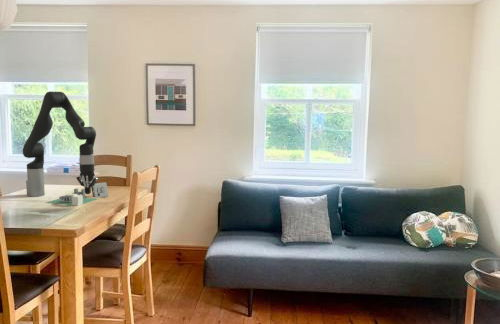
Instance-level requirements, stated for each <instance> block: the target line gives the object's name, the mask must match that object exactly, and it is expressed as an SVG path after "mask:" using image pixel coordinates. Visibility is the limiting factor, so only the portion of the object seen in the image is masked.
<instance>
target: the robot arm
mask: <svg viewBox="0 0 500 324" xmlns="http://www.w3.org/2000/svg"><path fill="white" fill-rule="evenodd" d="M56 108H57V109H60V108H62V109H63V110H65V120H66V122H67V123H68V124H69V126H70V127H71V128H72V130H73V133H74V136H75V138H77V139H79V140H81V141H85V142H84V143H82V144H80V145H79V147H78V148H79V159H78V161H79V175H78V176H77V177H76V180H77V182H78V183H79V184H80V186H81V187H84V189H85V195H90V194H91V193H92V188H91V187H92V186H94V185H95V184H96V183H98V180H99V177H96V176H95V175H96V174H95V157H94V145H95V141H96V137H97V132H96V129H95V128H94V126H85V124H86V123H85V121H84V119H83V118H82V117H81V116H80V115H79V114H78V113H77V111H76V110H75V108H74V106H73V104H72V103H71V101H70V100H69V98H68V96H67V95H66V94H65V93H64V92H63V91H47V92H46V93H45V94H44V96H43V99H42V103H41V105H40V110H39V112H38V114H37V117H36V120H35V121H34V124H33V127H32V129H31V131H30V133H29V136H28V137H27V139H26V141H25V142H24V144H23V147H22V155H23V157H25V158H27V159H33V160H32V161H31V162H28V163H27V164H26V179H27V180H26V181H25V182H26V183H25V185H26V186H25V187H26V196H28V197H43V196H45V176H44V175H45V172H44V165H45V148H44V147H45V146H44V145H43V144H42V142H40V141H41V140H43V139H44V138H46V137H47V136H48V135H49V134H50V132H51V130H52V128H53V124H54V122H53V119H52V117H51V114H50V113H51V111H52V109H56Z"/></svg>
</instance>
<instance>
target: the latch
mask: <svg viewBox="0 0 500 324" xmlns="http://www.w3.org/2000/svg"><path fill="white" fill-rule="evenodd" d="M65 195H66V196H72V205H71V206H75V205H76V206H77V207H78V206H82V205H84V204H83V195H81V194H80V195H77V194H72V193H68V194H67V193H66V194H65Z"/></svg>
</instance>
